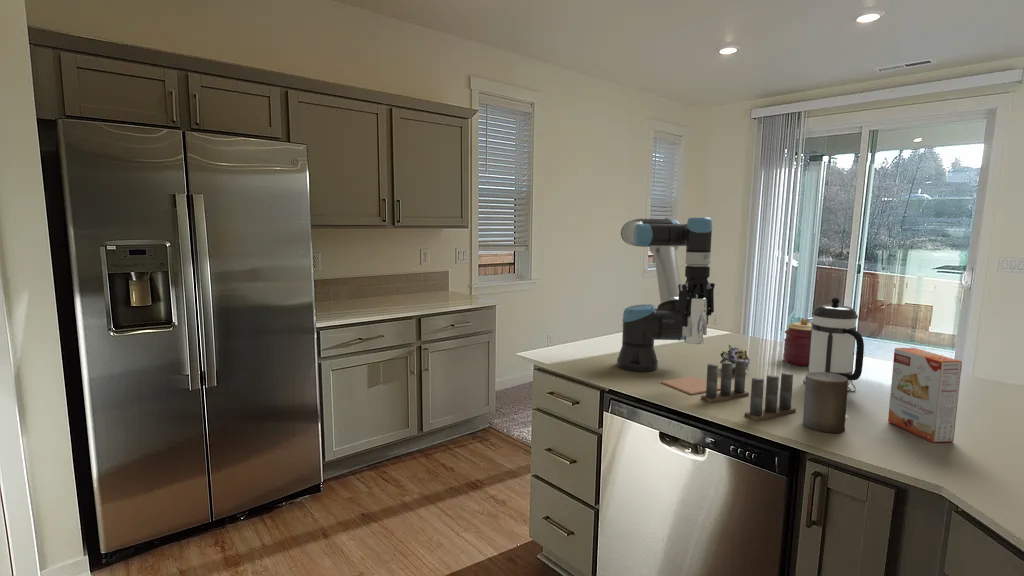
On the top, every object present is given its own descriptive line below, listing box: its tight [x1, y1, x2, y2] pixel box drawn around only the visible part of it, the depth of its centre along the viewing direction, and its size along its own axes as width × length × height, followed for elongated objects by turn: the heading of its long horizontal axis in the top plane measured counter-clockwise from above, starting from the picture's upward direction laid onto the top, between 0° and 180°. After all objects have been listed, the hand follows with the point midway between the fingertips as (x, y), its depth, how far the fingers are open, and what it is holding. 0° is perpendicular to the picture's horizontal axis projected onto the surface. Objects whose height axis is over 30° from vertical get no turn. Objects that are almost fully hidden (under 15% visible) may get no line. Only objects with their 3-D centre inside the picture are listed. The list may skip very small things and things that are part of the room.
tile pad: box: [660, 375, 721, 396], centre depth 171 cm, size 14×14×1 cm
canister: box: [782, 318, 812, 367], centre depth 201 cm, size 13×13×18 cm
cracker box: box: [887, 347, 963, 443], centre depth 132 cm, size 14×6×21 cm, turn 5°
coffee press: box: [802, 297, 865, 392], centre depth 168 cm, size 17×16×30 cm
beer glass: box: [683, 295, 707, 345], centre depth 168 cm, size 7×7×15 cm
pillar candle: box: [802, 372, 849, 434], centre depth 136 cm, size 10×10×15 cm
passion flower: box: [719, 344, 751, 371], centre depth 189 cm, size 11×11×12 cm
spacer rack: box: [700, 360, 797, 422], centre depth 152 cm, size 20×16×11 cm
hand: (694, 335), depth 169 cm, fingers closed on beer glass, 6 cm apart
